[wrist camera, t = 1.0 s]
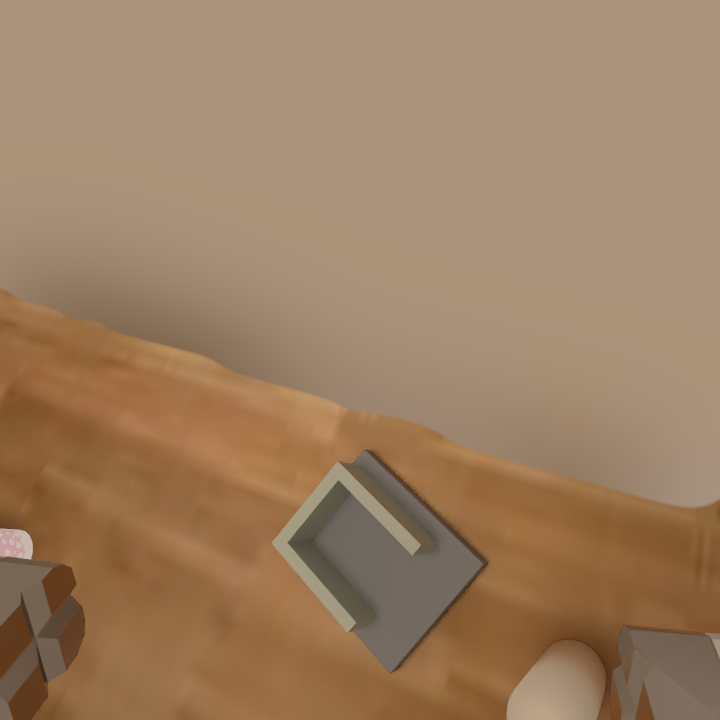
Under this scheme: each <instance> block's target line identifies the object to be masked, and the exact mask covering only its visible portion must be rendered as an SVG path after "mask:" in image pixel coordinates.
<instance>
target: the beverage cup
mask: <svg viewBox="0 0 720 720" xmlns="http://www.w3.org/2000/svg"><path fill="white" fill-rule="evenodd" d="M32 553H33V546H32V541H31V538H30V536H29V535H28V534H27V532H26V531H23V530H16V529H0V556H3V557H7V556H8V557H16V558H23V559H30V560H31V557H32Z"/></svg>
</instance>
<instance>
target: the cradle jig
mask: <svg viewBox="0 0 720 720" xmlns="http://www.w3.org/2000/svg"><path fill="white" fill-rule="evenodd" d="M272 544H273V546H274V547H275V548H276V549H277V550H278V551H279V553H280V554H281V555H282V556H283V557H284V559H285V560H286V561H287V562H288V563H289V564H290V566H291V567H292V568H293V569H294V570H295V571H296V573H297V574H298V575H299V576H300V577H301V579H302V580H303V581H304V582H305V583H306V584H307V586H308V587H309V588H310V589H311V590H312V592H313V593H314V594H315V595H316V596H317V597H318V599H319V600H320V601H321V602H322V603H323V605H324V606H325V607H326V608H327V609H328V610H329V612H330V613H331V614H332V615H333V616H334V617H335V619H336V620H337V621H338V622H339V623H340V625H341V626H342V627H343V628H344V629H345V630H346V632H347V633H349V632H351V631H354V632H355V634H356V635H357V636H358V637H359V638H360V639H361V641H362V642H363V643H364V644H365V645H366V646H367V648H368V649H369V650H370V651H371V652H372V653H373V655H374V656H375V657H376V658H377V659H378V660H379V662H380V663H381V664H382V665H383V666H384V667H385V669H386V670H387V671H388V672H389V673H392V672H394V671H396V670H397V669H398V668H399V667H400V665H401V664H402V663H403V662H404V661H405V660H406V658H407V657H408V656H409V655H410V654H411V653H412V651H413V650H414V649H415V648H416V647H417V646H418V644H419V643H420V642H421V641H422V640H423V638H424V637H425V636H426V635H427V634H428V633H429V631H430V630H431V629H432V628H433V627H434V626H435V624H436V623H437V622H438V621H439V620H440V619H441V617H442V616H443V615H444V614H445V613H446V612H447V610H448V609H449V608H450V607H451V606H452V604H453V603H454V602H455V601H456V600H457V599H458V597H459V596H460V595H461V594H462V593H463V592H464V590H465V589H466V588H467V587H468V586H469V585H470V583H471V582H472V581H473V580H474V579H475V578H476V576H477V575H478V574H479V573H480V572H481V570H482V569H483V568H484V567H485V566H486V565H487V563H488V562H486V561H485V560H484V559H483V558H482V557H481V556H480V555H479V554H478V553H477V552H476V551H475V550H474V549H473V548H472V547H471V546H470V545H469V544H468V543H467V542H466V541H465V540H464V539H463V538H461V537H460V536H459V535H458V534H457V533H456V532H455V531H454V530H453V529H452V528H451V527H450V526H449V525H448V524H447V523H446V522H445V521H444V520H443V519H442V518H441V517H440V516H439V515H438V514H436V513H435V512H434V511H433V510H432V509H431V508H430V507H429V506H428V505H427V504H426V503H425V502H424V501H423V500H422V499H421V498H420V497H419V496H418V495H417V494H416V493H415V492H414V491H413V490H411V489H410V488H409V487H408V486H407V485H406V484H405V483H404V482H403V481H402V480H401V479H400V478H399V477H398V476H397V475H396V474H395V473H394V472H393V471H392V470H391V469H390V468H389V467H388V466H386V465H385V464H384V463H383V462H382V461H381V460H380V459H379V458H378V457H377V456H376V455H375V454H374V453H373V452H372V451H369V450H364V451H363V452H362V453H361V454H360V456H359V457H358V458H357V459H356V461H355V462H354V463H353V464H349V463H344V462H339V461H338V462H337V463H336V464H335V466H334V467H333V468H332V469H331V471H330V472H329V473H328V474H327V475H326V477H325V478H324V479H323V480H322V482H321V483H320V484H319V485H318V487H317V488H316V489H315V490H314V491H313V493H312V494H311V495H310V496H309V498H308V499H307V500H306V501H305V503H304V504H303V505H302V506H301V507H300V509H299V510H298V511H297V512H296V514H295V515H294V516H293V517H292V519H291V520H290V521H289V522H288V524H287V525H286V526H285V527H284V528H283V530H282V531H281V532H280V533H279V535H278V536H277V537H276V538H275V540H274V541H273V542H272Z"/></svg>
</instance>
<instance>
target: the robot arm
mask: <svg viewBox="0 0 720 720" xmlns="http://www.w3.org/2000/svg"><path fill="white" fill-rule="evenodd" d="M76 585H77V584H76V581H75V577H74V574H73V571H72V568H71V567H69V566H66V565H64V564H60V563H52V562H45V561H38V560H30V559H23V558H16V557H8V556H7V557H3V556H0V720H31V719H32V718H33V717H34V715H35V714H36V713H37V711H38V710H39V708H40V707H41V706H42V704H43V703H44V701H45V700H46V699H47V697H48V682H49V681H51V680H52V679H54V678H56V677H57V676H59V675H60V674H62V673H64V672H65V671H67V669H68V668H69V666H70V665H71V663H72V662H73V660H74V659H75V657H76V656H77V655H78V652H79V649H80V646H81V643H82V640H83V638H84V635H85V617H84V612H83V608H82V606H81V605H80V604H79V603H78V602H77V601H76V600H75V599H74V598H73V597H72V596H71V593H72V591H73V590H74V588H75V586H76ZM617 647H618V651H619V655H620V660H621V664H622V665H620V666H619V667H618V668H616V669H615V670H614V671H613V675H612V682H611V689H610V713H611V720H720V634H716V633H706V632H705V633H701V632H693V631H683V630H673V629H663V628H653V627H643V626H633V625H623V627H622V629H621V631H620V635H619V640H618V646H617Z"/></svg>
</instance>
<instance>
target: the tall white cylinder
mask: <svg viewBox="0 0 720 720" xmlns="http://www.w3.org/2000/svg"><path fill="white" fill-rule="evenodd" d="M605 687H606V672H605V668H604V665H603V663H602V661H601V659H600V658H599V656H598V655H597V654H596V653H595V651H594V650H593V649H591V648H590V647H589V646H587V645H586V644H584V643H582V642H579V641H576V640H570V639H567V640H560V641H557V642H555V643H553V644H552V645H550V646H549V647H548V648H547V649H546V651H545V652H544V653H543V654H542V656H541V657H540V658H539V659H538V661H537V662H536V663H535V664H534V666H533V667H532V668H531V669H530V671H529V672H528V673H527V674H526V676H525V677H524V678H523V679H522V680H521V682H520V683H519V684H518V685H517V687H516V688H515V689H514V691H513V692H512V694H511V696H510V698H509V701H508V706H507V720H597V718H598V714H599V710H600V706H601V703H602V699H603V695H604V691H605Z"/></svg>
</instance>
